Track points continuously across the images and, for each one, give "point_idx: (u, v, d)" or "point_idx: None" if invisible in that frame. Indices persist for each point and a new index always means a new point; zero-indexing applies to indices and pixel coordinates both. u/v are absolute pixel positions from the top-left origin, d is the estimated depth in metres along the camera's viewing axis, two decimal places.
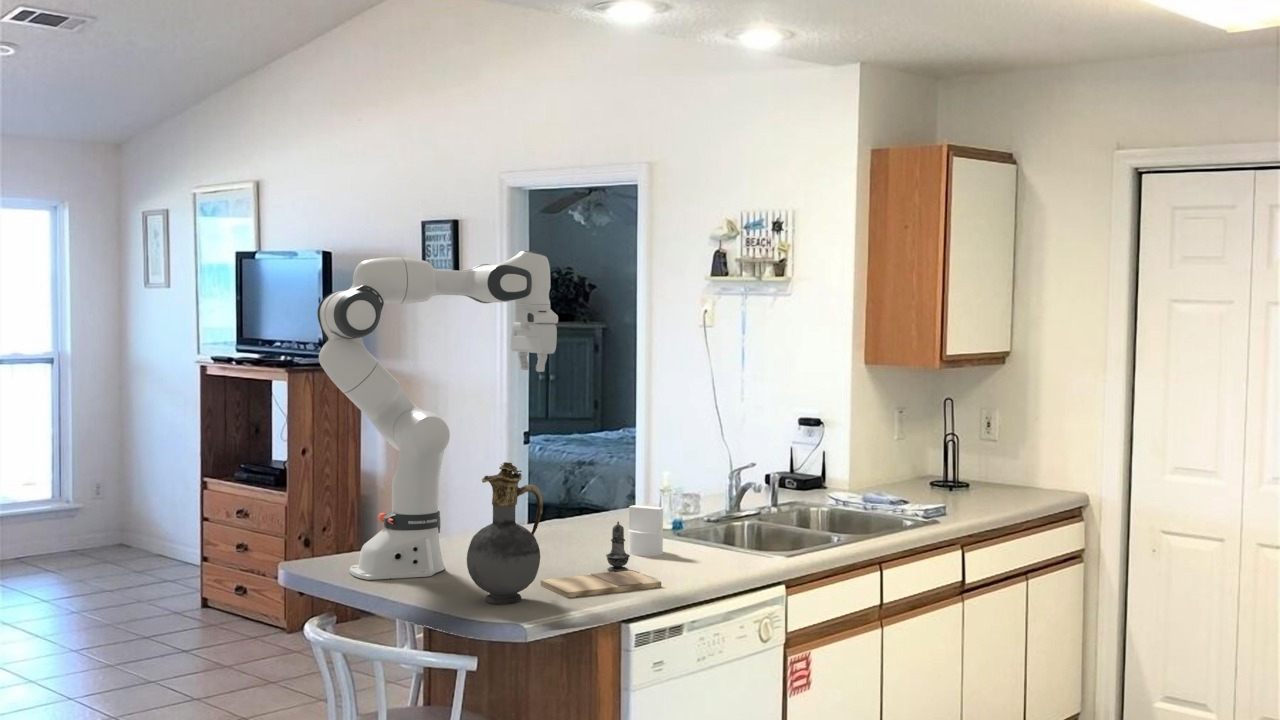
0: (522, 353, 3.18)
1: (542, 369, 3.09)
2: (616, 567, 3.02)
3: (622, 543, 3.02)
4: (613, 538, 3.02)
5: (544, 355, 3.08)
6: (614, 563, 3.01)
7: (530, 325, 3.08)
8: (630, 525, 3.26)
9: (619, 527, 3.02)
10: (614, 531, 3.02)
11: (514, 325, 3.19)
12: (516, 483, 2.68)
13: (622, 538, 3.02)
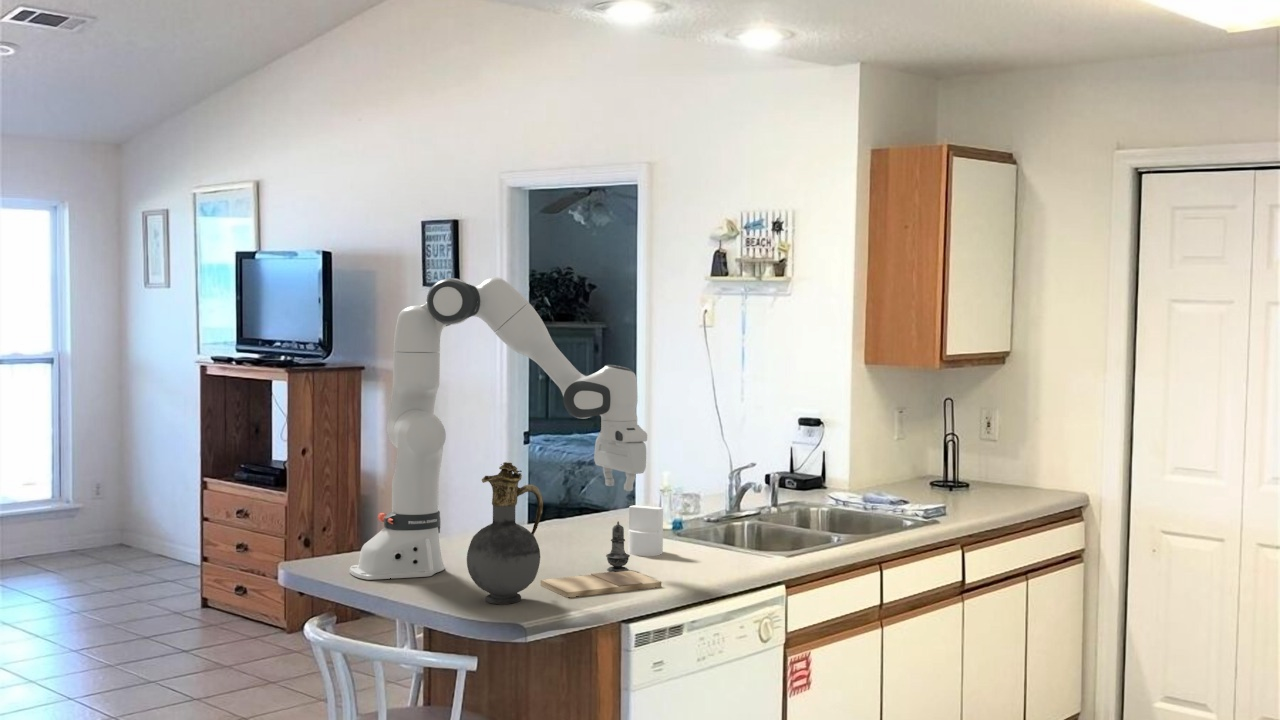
0: (607, 468, 3.07)
1: (630, 488, 2.98)
2: (616, 567, 3.02)
3: (622, 543, 3.02)
4: (613, 538, 3.02)
5: (633, 474, 2.97)
6: (614, 563, 3.01)
7: (618, 443, 2.97)
8: (630, 525, 3.26)
9: (619, 527, 3.02)
10: (614, 531, 3.02)
11: (599, 439, 3.07)
12: (516, 483, 2.68)
13: (622, 538, 3.02)
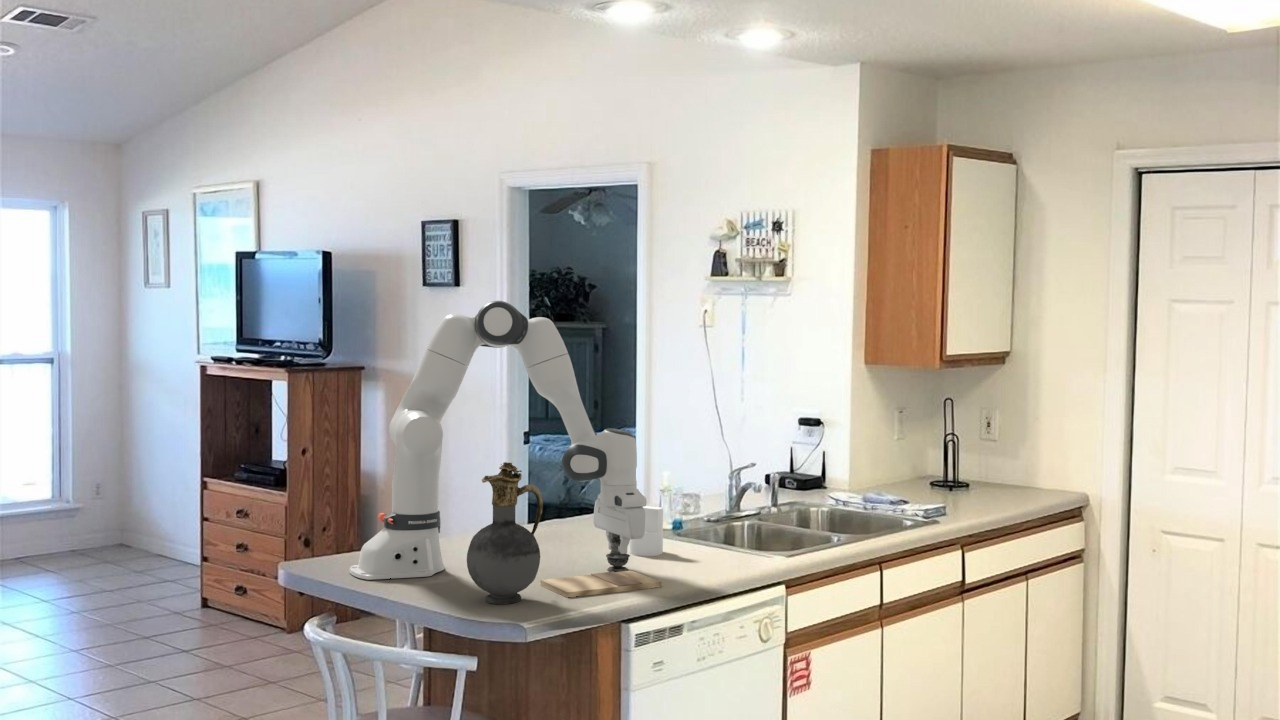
0: (610, 532, 3.05)
1: (625, 551, 3.01)
2: (616, 567, 3.02)
3: None
4: (613, 538, 3.02)
5: (627, 537, 2.99)
6: (614, 563, 3.01)
7: (617, 508, 2.97)
8: None
9: None
10: None
11: (598, 501, 3.08)
12: (516, 483, 2.68)
13: None
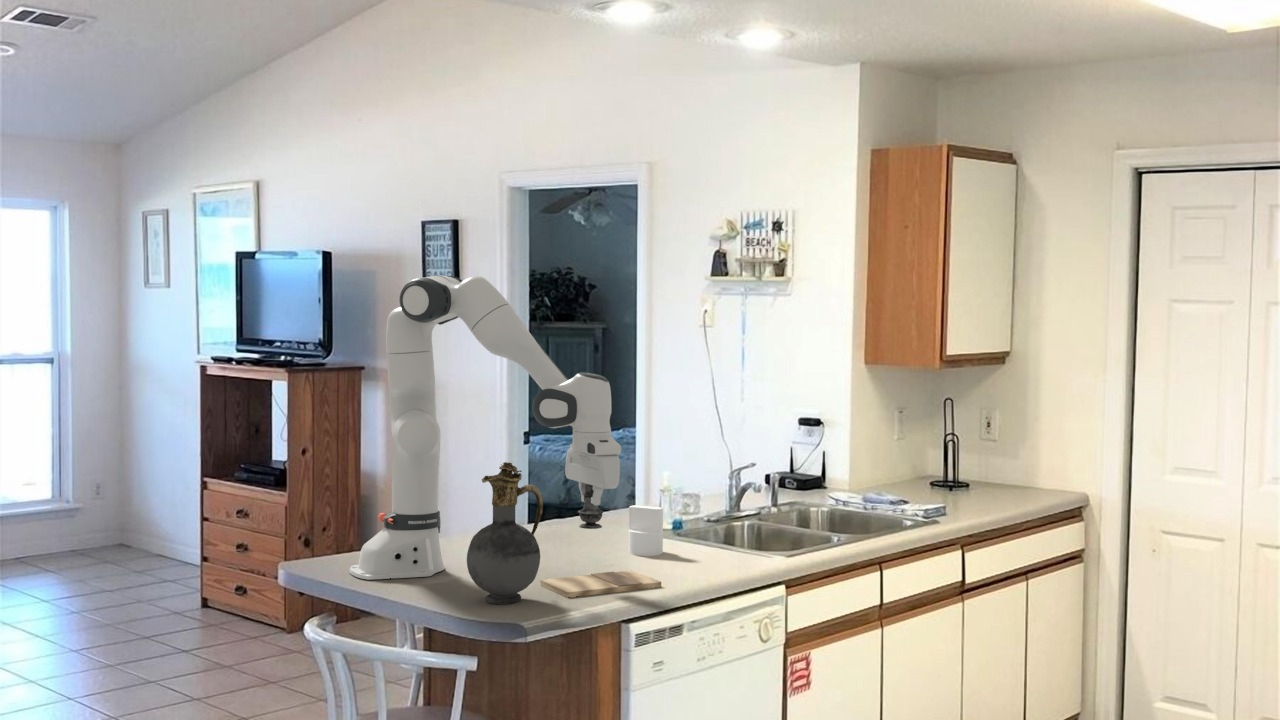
0: (583, 483, 2.88)
1: (598, 502, 2.83)
2: (589, 523, 2.85)
3: None
4: (586, 493, 2.85)
5: (600, 488, 2.82)
6: (587, 519, 2.83)
7: (590, 456, 2.80)
8: (630, 525, 3.26)
9: None
10: (587, 485, 2.84)
11: (570, 451, 2.90)
12: (516, 483, 2.68)
13: None
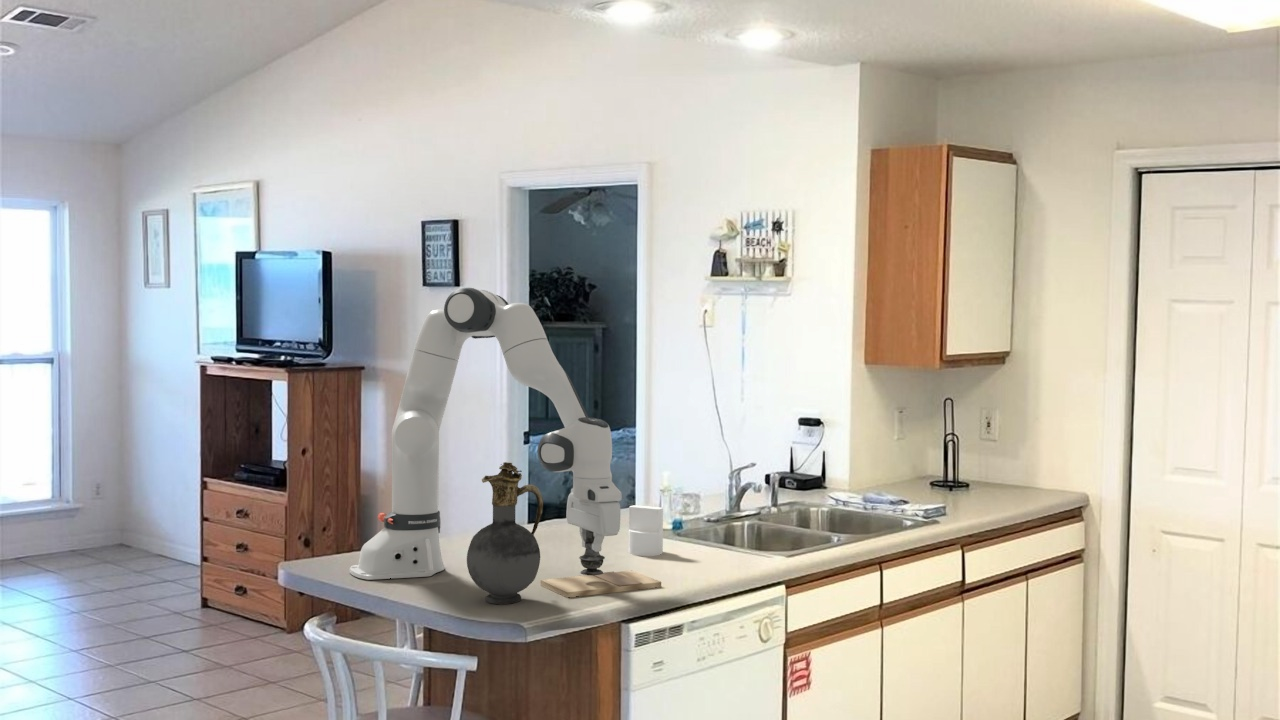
0: (584, 529, 2.86)
1: (599, 549, 2.81)
2: (590, 570, 2.83)
3: None
4: (587, 539, 2.83)
5: None
6: (588, 565, 2.82)
7: (591, 503, 2.78)
8: (630, 525, 3.26)
9: None
10: (588, 531, 2.82)
11: (571, 496, 2.89)
12: (516, 483, 2.68)
13: None
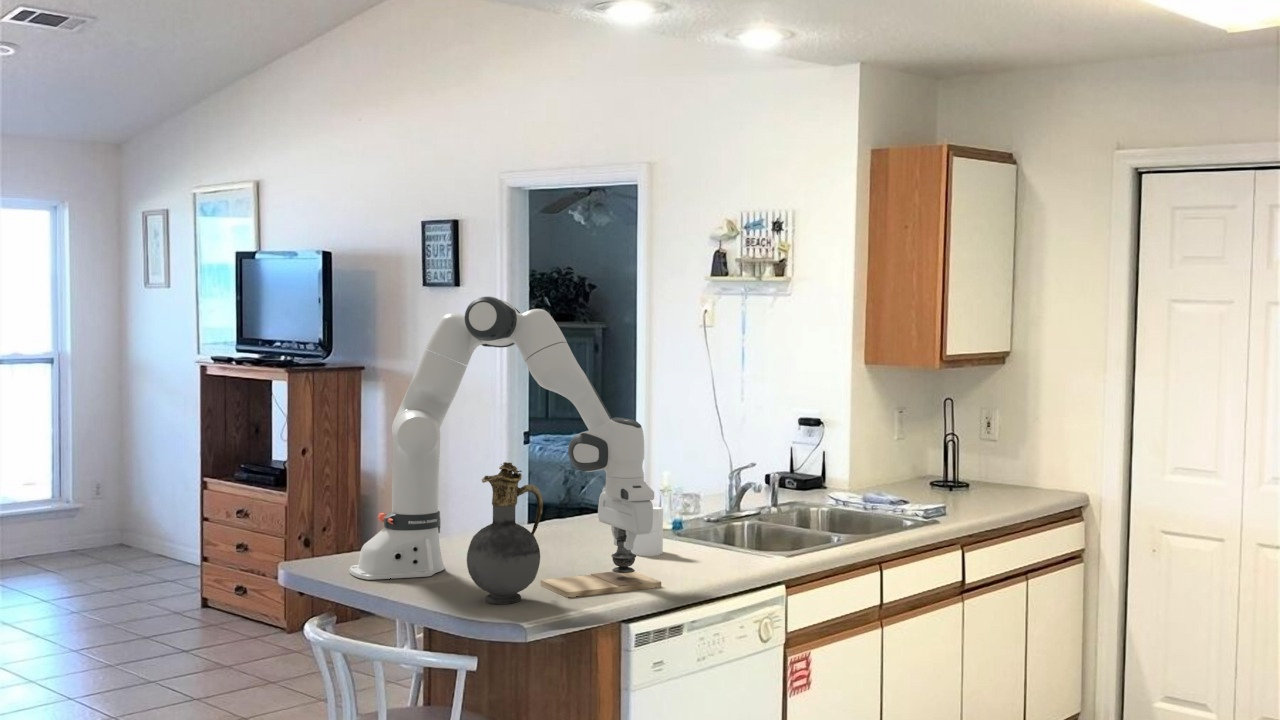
0: (616, 527, 2.90)
1: (631, 547, 2.85)
2: (622, 568, 2.87)
3: None
4: (619, 537, 2.87)
5: (633, 532, 2.84)
6: (620, 563, 2.86)
7: (623, 502, 2.82)
8: None
9: None
10: (620, 530, 2.87)
11: (603, 494, 2.93)
12: (516, 483, 2.68)
13: None
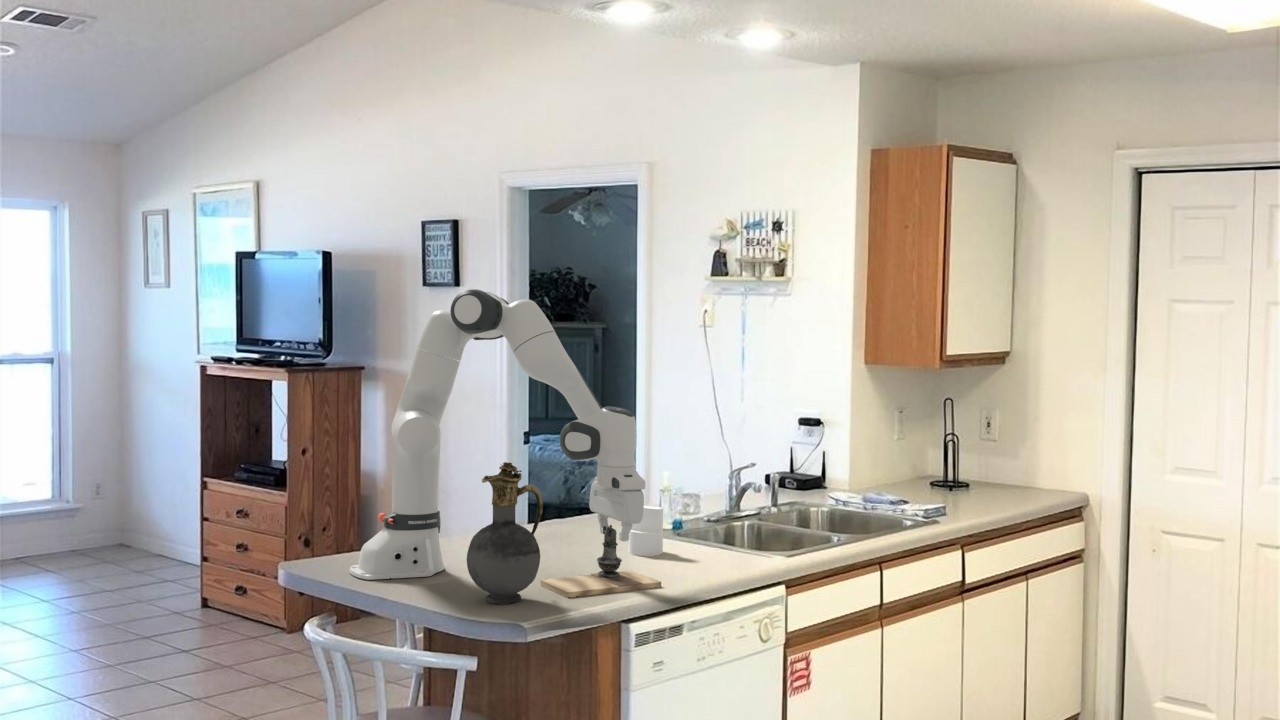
0: (602, 515, 2.91)
1: (626, 538, 2.82)
2: (607, 572, 2.89)
3: (614, 547, 2.88)
4: (605, 542, 2.88)
5: (629, 524, 2.81)
6: (605, 568, 2.88)
7: (614, 491, 2.81)
8: None
9: (611, 531, 2.88)
10: (606, 535, 2.88)
11: (595, 484, 2.91)
12: (516, 483, 2.68)
13: (614, 542, 2.88)
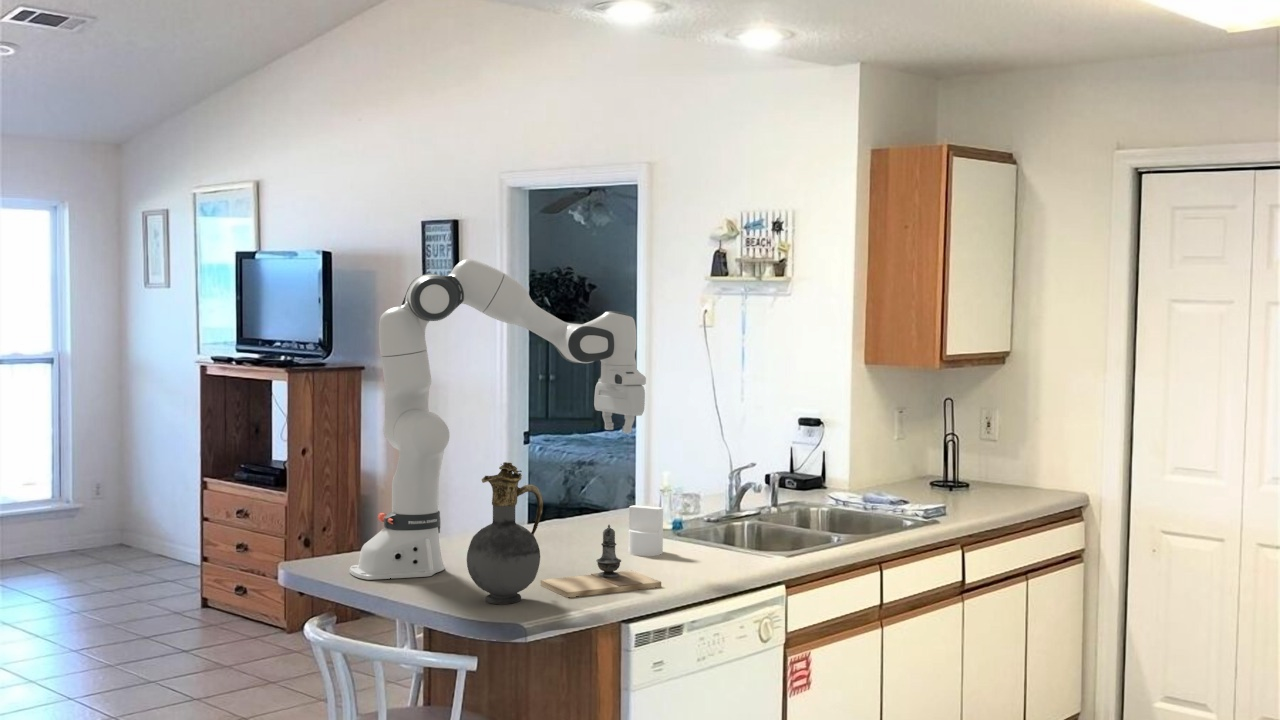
0: (606, 413, 3.15)
1: (629, 431, 3.06)
2: (607, 572, 2.89)
3: (613, 547, 2.89)
4: (604, 542, 2.89)
5: (631, 417, 3.05)
6: (605, 568, 2.88)
7: (617, 386, 3.05)
8: (630, 525, 3.26)
9: (610, 531, 2.89)
10: (605, 535, 2.89)
11: (598, 384, 3.16)
12: (516, 483, 2.68)
13: (613, 542, 2.89)
